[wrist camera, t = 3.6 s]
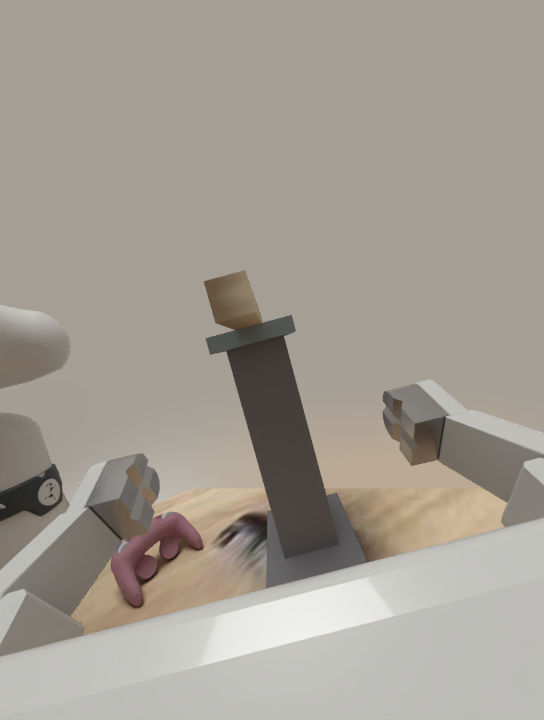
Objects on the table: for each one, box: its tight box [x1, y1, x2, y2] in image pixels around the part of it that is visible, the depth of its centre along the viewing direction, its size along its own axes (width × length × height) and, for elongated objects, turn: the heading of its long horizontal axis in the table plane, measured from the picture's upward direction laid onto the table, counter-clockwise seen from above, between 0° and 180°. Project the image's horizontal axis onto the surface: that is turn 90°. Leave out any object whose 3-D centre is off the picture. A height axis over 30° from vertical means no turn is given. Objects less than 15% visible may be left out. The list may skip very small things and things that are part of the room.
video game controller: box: [111, 512, 202, 606], centre depth 35 cm, size 10×5×7 cm, turn 142°
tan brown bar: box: [204, 270, 262, 330], centre depth 26 cm, size 2×22×2 cm, turn 1°
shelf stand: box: [206, 315, 368, 588], centre depth 31 cm, size 10×12×26 cm
